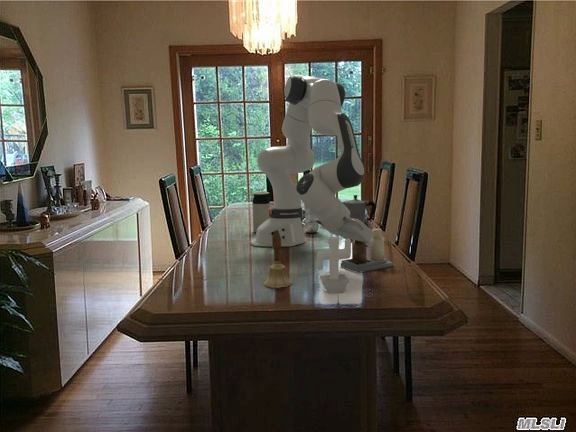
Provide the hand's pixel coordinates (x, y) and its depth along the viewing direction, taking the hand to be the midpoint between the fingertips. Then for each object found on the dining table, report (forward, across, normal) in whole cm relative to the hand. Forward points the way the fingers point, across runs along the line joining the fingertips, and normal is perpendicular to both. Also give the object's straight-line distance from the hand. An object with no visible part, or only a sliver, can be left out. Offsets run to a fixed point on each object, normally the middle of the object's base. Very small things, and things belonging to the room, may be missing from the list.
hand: (360, 243), depth 166 cm
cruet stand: (+7, 0, +4) cm, 8 cm away
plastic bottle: (+21, +64, -9) cm, 67 cm away
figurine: (-10, -17, +21) cm, 29 cm away
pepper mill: (+4, 0, +5) cm, 7 cm away
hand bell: (-17, -2, +28) cm, 33 cm away
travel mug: (+9, +80, +3) cm, 81 cm away
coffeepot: (+28, +42, -16) cm, 53 cm away
